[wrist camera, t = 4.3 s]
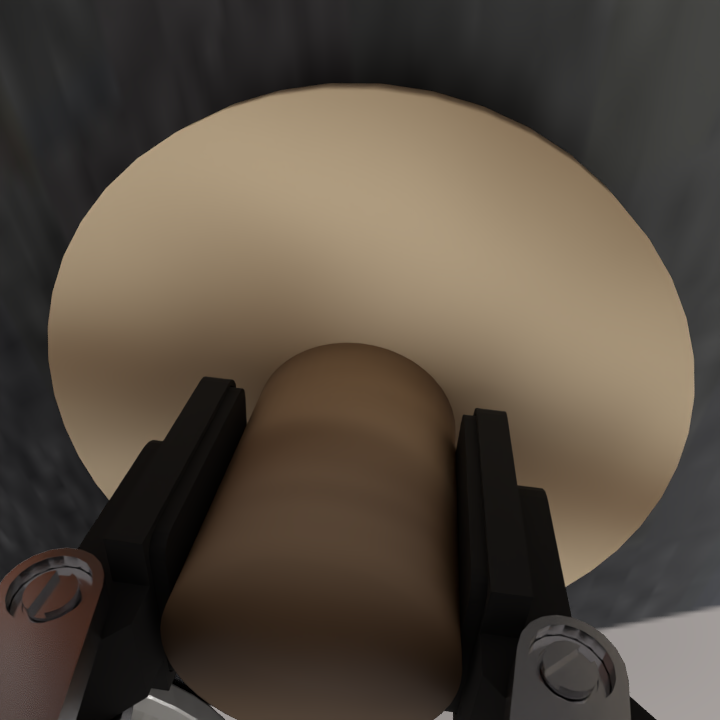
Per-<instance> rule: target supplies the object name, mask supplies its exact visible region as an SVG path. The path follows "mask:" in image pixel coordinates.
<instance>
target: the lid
mask: <svg viewBox="0 0 720 720" xmlns="http://www.w3.org/2000/svg"><path fill="white" fill-rule="evenodd" d="M48 354H49V366H50V372H51V377H52V383H53V389H54V395H55V398H56V401H57V404H58V407H59V410H60V413H61V416H62V420H63V423H64V426H65V428H66V430H67V432H68V434H69V436H70V439H71V441H72V443H73V445H74V447H75V449H76V451H77V453H78V456H79V457H80V459H81V460H82V462H83V464H84V465H85V467H86V468H87V470H88V472H89V473H90V475H91V476H92V478H93V480H94V481H95V483H96V484H97V485H98V487H99V488H100V489H101V490H102V492H103V493H104V494H105V495H106V497H107V498H108V499H109V500H110V498H111V497H112V495H113V494H114V492H115V491H116V489H117V488H118V486H119V484H120V483H121V481H122V480H123V478H124V477H125V475H126V474H127V472H128V471H129V469H130V468H131V466H132V464H133V463H134V461H135V460H136V458H137V457H138V455H139V454H140V452H141V451H142V449H143V448H144V446H145V445H146V444H147V443H148V442H149V441H151V440H158V441H163V440H164V439H165V437H166V435H167V434H168V432H169V431H170V429H171V427H172V426H173V424H174V422H175V421H176V419H177V418H178V416H179V414H180V413H181V411H182V409H183V408H184V406H185V405H186V403H187V401H188V400H189V398H190V396H191V395H192V393H193V392H194V390H195V388H196V387H197V385H198V383H199V382H200V380H201V379H202V378H203V377H205V376H206V377H215V378H223V379H232V380H234V381H235V383H236V388H243V389H244V390H245V397H246V419H247V426H246V428H245V430H244V432H243V434H242V437H241V439H240V441H239V443H238V446H237V448H236V450H235V452H234V454H233V457H232V459H231V461H230V463H229V466H228V468H227V470H226V472H225V475H224V477H223V479H222V481H221V483H220V486H219V488H218V490H217V492H216V495H215V497H214V499H213V501H212V503H211V506H210V508H209V510H208V512H207V515H206V517H205V519H204V521H203V523H202V526H201V528H200V530H199V532H198V535H197V537H196V539H195V541H194V543H193V546H192V548H191V550H190V552H189V555H188V557H187V559H186V561H185V563H184V566H183V568H182V570H181V572H180V575H179V577H178V579H177V581H176V584H175V586H174V588H173V590H172V592H171V595H170V597H169V599H168V601H167V604H166V606H165V609H164V611H163V614H162V618H161V626H160V631H161V641H162V644H163V648H164V651H165V654H166V656H167V658H168V660H169V662H170V664H171V665H172V667H173V668H174V670H175V671H176V673H177V674H178V675H179V677H180V678H181V679H182V680H183V681H184V682H185V683H186V685H187V686H188V687H190V688H191V689H192V690H193V691H194V692H195V693H196V694H197V695H198V696H200V697H201V698H202V699H204V700H205V701H206V702H208V703H209V704H210V705H212V706H214V707H215V708H217V709H218V710H220V711H222V712H223V713H225V714H227V715H229V716H231V717H233V718H235V719H237V720H434V719H435V718H436V717H438V716H439V715H440V714H442V712H443V711H444V710H445V709H446V708H447V707H448V706H449V705H450V704H451V702H452V701H453V699H454V697H455V696H456V694H457V691H458V689H459V686H460V683H461V676H462V647H461V635H460V597H459V559H458V521H457V483H456V448H457V442H458V437H459V431H460V426H461V421H462V416H463V414H465V415H473V414H474V410H475V409H476V408H481V409H489V410H498V411H505V412H506V413H507V417H508V424H509V431H510V438H511V444H512V451H513V458H514V465H515V472H516V479H517V485H520V486H528V487H536V488H543V489H544V490H545V492H546V495H547V498H548V503H549V508H550V513H551V518H552V523H553V528H554V533H555V538H556V543H557V548H558V553H559V558H560V563H561V568H562V573H563V577H564V582H565V587H566V586H568V585H569V584H571V583H573V582H574V581H576V580H577V579H579V578H581V577H582V576H584V575H585V574H587V573H588V572H590V571H592V570H593V569H594V568H595V567H597V566H598V565H599V564H600V563H602V562H603V561H604V560H605V559H607V558H608V557H609V556H610V555H612V554H613V553H614V552H615V551H617V550H618V549H619V548H620V547H621V546H622V545H623V544H624V542H625V541H626V540H627V539H628V538H629V537H630V536H631V535H632V534H633V533H634V532H635V531H636V530H637V529H638V528H639V527H640V526H641V525H642V523H643V522H644V521H645V519H646V518H647V516H648V515H649V514H650V512H651V511H652V510H653V508H654V507H655V505H656V504H657V503H658V501H659V500H660V499H661V497H662V495H663V493H664V491H665V489H666V487H667V485H668V483H669V482H670V480H671V478H672V476H673V474H674V472H675V470H676V468H677V466H678V463H679V460H680V457H681V454H682V451H683V448H684V445H685V442H686V439H687V436H688V433H689V427H690V421H691V414H692V408H693V402H694V356H693V351H692V345H691V340H690V334H689V329H688V324H687V318H686V316H685V313H684V310H683V308H682V305H681V302H680V299H679V297H678V294H677V291H676V289H675V286H674V283H673V281H672V278H671V276H670V274H669V273H668V271H667V269H666V268H665V266H664V264H663V262H662V261H661V259H660V257H659V255H658V254H657V252H656V250H655V248H654V247H653V245H652V243H651V241H650V240H649V238H648V237H647V236H646V235H645V233H644V232H643V231H642V230H641V228H640V227H639V226H638V225H637V223H636V222H635V221H634V220H633V219H632V217H631V216H630V215H629V214H628V212H627V211H626V210H625V209H624V208H623V206H622V205H621V204H620V203H619V201H618V200H617V199H616V198H615V197H614V195H613V194H612V193H611V192H610V190H609V189H608V188H607V187H606V186H605V185H604V184H603V183H602V182H601V181H599V180H598V179H597V178H596V177H595V176H594V175H593V174H592V173H591V172H589V171H588V170H587V169H586V168H585V167H584V166H583V165H582V164H580V163H579V162H578V161H577V160H576V159H575V158H574V157H573V156H572V155H570V154H569V153H567V152H566V151H564V150H563V149H561V148H560V147H558V146H557V145H555V144H553V143H552V142H550V141H549V140H547V139H546V138H544V137H543V136H541V135H540V134H538V133H537V132H535V131H534V130H532V129H531V128H529V127H527V126H525V125H523V124H520V123H518V122H516V121H514V120H512V119H510V118H507V117H505V116H503V115H501V114H499V113H497V112H494V111H492V110H490V109H488V108H486V107H484V106H481V105H477V104H474V103H471V102H467V101H464V100H461V99H457V98H454V97H451V96H447V95H444V94H441V93H437V92H434V91H428V90H422V89H415V88H408V87H402V86H395V85H388V84H381V83H328V84H321V85H314V86H307V87H299V88H292V89H285V90H279V91H276V92H273V93H269V94H266V95H262V96H259V97H256V98H252V99H249V100H245V101H242V102H239V103H235V104H233V105H231V106H229V107H226V108H224V109H222V110H220V111H218V112H216V113H214V114H212V115H209V116H207V117H205V118H203V119H201V120H199V121H197V122H194V123H192V124H191V125H189V126H187V127H185V128H183V129H181V130H179V131H178V132H176V133H174V134H173V135H171V136H170V137H168V138H167V139H165V140H164V141H162V142H161V143H159V144H158V145H157V146H155V147H154V148H152V149H151V150H149V151H148V152H146V153H145V154H143V155H142V156H140V157H139V158H137V159H136V160H135V161H134V162H133V163H132V164H131V165H130V166H129V167H128V168H127V169H126V170H125V171H124V172H123V173H122V174H121V175H119V176H118V177H117V178H116V179H115V180H114V181H113V182H112V183H111V184H110V185H109V186H108V187H107V188H106V189H105V190H104V192H103V193H102V194H101V196H100V197H99V198H98V200H97V201H96V202H95V204H94V205H93V206H92V208H91V209H90V210H89V212H88V213H87V214H86V216H85V217H84V218H83V220H82V221H81V223H80V225H79V227H78V229H77V231H76V233H75V235H74V237H73V239H72V241H71V243H70V245H69V246H68V248H67V250H66V252H65V254H64V257H63V260H62V263H61V266H60V269H59V273H58V276H57V279H56V282H55V286H54V289H53V293H52V300H51V308H50V315H49V322H48Z"/></svg>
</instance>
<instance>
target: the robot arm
mask: <svg viewBox="0 0 720 720" xmlns="http://www.w3.org/2000/svg"><path fill="white" fill-rule="evenodd" d="M246 426H247V419H246V397H245V390H244V389H243V388H236V383H235V381H234V380H232V379H223V378H215V377H206V376H205V377H203V378H202V379H201V380H200V382H199V383H198V385H197V387H196V388H195V390H194V392H193V393H192V395H191V396H190V398H189V400H188V401H187V403H186V405H185V406H184V408H183V409H182V411H181V413H180V414H179V416H178V418H177V419H176V421H175V422H174V424H173V426H172V427H171V429H170V431H169V432H168V434H167V435H166V437H165V439H164V440H163V441H158V440H151V441H149V442H148V443H147V444H146V445H145V446H144V448H143V449H142V451H141V452H140V454H139V455H138V457H137V458H136V460H135V461H134V463H133V464H132V466H131V468H130V469H129V471H128V472H127V474H126V475H125V477H124V478H123V480H122V481H121V483H120V484H119V486H118V488H117V489H116V491H115V492H114V494H113V495H112V497H111V498H110V500H109V501H108V503H107V505H106V506H105V508H104V509H103V511H102V512H101V514H100V515H99V517H98V518H97V520H96V521H95V523H94V525H93V526H92V528H91V529H90V531H89V532H88V534H87V535H86V537H85V538H84V540H83V541H82V543H81V545H80V546H79V548H78V549H73V548H61V549H53V550H49V551H46V552H43V553H40V554H37V555H34V556H32V557H31V558H29V559H27V560H25V561H24V562H22V563H20V564H18V565H17V566H16V567H15V568H14V569H13V570H12V571H10V572H9V573H8V574H7V575H6V576H5V577H4V579H3V580H2V582H1V583H0V720H225V719H224V718H223V717H222V716H221V715H220V714H218V713H217V712H216V711H215V710H214V709H213V708H212V707H211V706H209V705H208V704H206V703H205V702H203V701H202V700H200V699H199V698H197V697H196V696H194V695H193V694H191V693H189V692H187V691H185V690H183V689H181V688H179V687H178V686H176V685H174V684H172V682H173V679H174V677H175V674H176V671H175V670H174V668H173V667H172V665H171V664H170V662H169V660H168V658H167V656H166V654H165V651H164V648H163V644H162V641H161V631H160V626H161V618H162V614H163V611H164V609H165V606H166V604H167V601H168V599H169V597H170V595H171V592H172V590H173V588H174V586H175V584H176V581H177V579H178V577H179V575H180V572H181V570H182V568H183V566H184V563H185V561H186V559H187V557H188V555H189V552H190V550H191V548H192V546H193V543H194V541H195V539H196V537H197V535H198V532H199V530H200V528H201V526H202V523H203V521H204V519H205V517H206V515H207V512H208V510H209V508H210V506H211V503H212V501H213V499H214V497H215V495H216V492H217V490H218V488H219V486H220V483H221V481H222V479H223V477H224V475H225V472H226V470H227V468H228V466H229V463H230V461H231V459H232V457H233V454H234V452H235V450H236V448H237V446H238V443H239V441H240V439H241V437H242V434H243V432H244V430H245V428H246ZM456 483H457V521H458V559H459V597H460V635H461V647H462V676H461V683H460V686H459V689H458V691H457V694H456V696H455V697H454V699H453V701H452V702H451V704H450V705H449V706H448V707H447V708H446V709H445V710H444V711H449V712H453V720H656V719H655V718H654V717H653V716H652V715H650V714H649V713H648V712H647V711H646V710H645V709H644V708H642V707H641V706H640V705H639V704H638V703H637V702H636V701H635V700H633V699H632V698H631V697H630V696H629V680H628V676H627V671H626V667H625V663H624V662H623V660H622V658H621V656H620V655H619V653H618V651H617V649H616V648H615V647H614V646H613V645H612V643H611V642H610V641H609V640H608V639H607V638H606V637H605V636H604V635H603V634H602V633H600V632H599V631H598V630H596V629H595V628H593V627H592V626H590V625H589V624H587V623H584V622H582V621H580V620H577V619H575V618H572V617H571V612H570V607H569V602H568V597H567V592H566V587H565V582H564V577H563V573H562V568H561V563H560V558H559V553H558V548H557V543H556V538H555V533H554V528H553V523H552V518H551V513H550V508H549V503H548V498H547V495H546V492H545V490H544V489H543V488H536V487H528V486H520V485H517V479H516V472H515V465H514V458H513V451H512V444H511V438H510V431H509V424H508V417H507V413H506V412H505V411H498V410H489V409H481V408H476V409H475V410H474V414H473V415H465V414H463V416H462V421H461V426H460V431H459V437H458V442H457V448H456Z"/></svg>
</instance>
